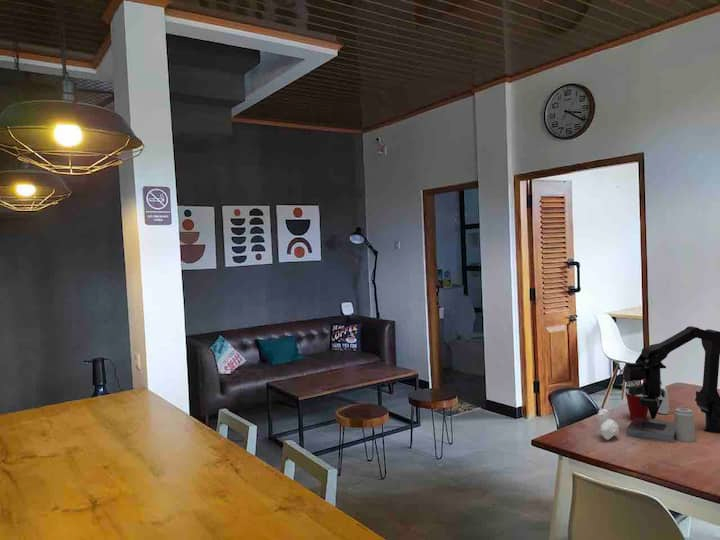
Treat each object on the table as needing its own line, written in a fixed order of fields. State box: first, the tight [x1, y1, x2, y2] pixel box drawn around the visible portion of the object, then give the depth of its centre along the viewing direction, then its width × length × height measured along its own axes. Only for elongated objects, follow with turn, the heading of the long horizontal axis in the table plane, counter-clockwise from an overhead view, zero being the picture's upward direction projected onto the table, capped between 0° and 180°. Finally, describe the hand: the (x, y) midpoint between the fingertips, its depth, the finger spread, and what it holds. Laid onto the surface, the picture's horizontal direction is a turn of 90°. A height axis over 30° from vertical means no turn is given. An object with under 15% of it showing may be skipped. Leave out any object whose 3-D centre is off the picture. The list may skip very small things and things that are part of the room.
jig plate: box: [626, 417, 677, 444], centre depth 214 cm, size 16×16×3 cm
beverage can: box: [673, 407, 696, 443], centre depth 206 cm, size 6×6×12 cm
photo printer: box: [658, 383, 670, 415], centre depth 241 cm, size 10×4×12 cm, turn 4°
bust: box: [596, 408, 620, 440], centre depth 211 cm, size 12×8×11 cm, turn 145°
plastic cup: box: [624, 388, 649, 421], centre depth 232 cm, size 11×11×12 cm
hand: (653, 418), depth 214 cm, fingers closed
